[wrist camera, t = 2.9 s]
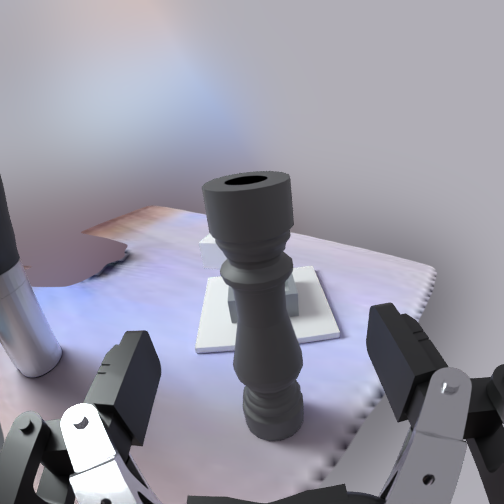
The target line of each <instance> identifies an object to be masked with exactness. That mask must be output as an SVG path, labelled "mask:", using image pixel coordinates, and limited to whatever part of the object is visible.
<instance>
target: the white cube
mask: <svg viewBox="0 0 504 504" xmlns="http://www.w3.org/2000/svg"><path fill="white" fill-rule="evenodd" d="M199 247H200V252H201V257H202V262H203V267H204V268H205V269H218V270H220V269H221V266H222V264H223V263H224V262H225V261H226V260H227V258H226V256H225V255H224V254H223V251H222V250H220V248H219V247H218V246H217V244H216V243H215V238H213V237H212V235H211V234H208V235H207V236H206V237H205V238H204V239H203V240H202V241H200V242H199Z"/></svg>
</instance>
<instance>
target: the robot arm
mask: <svg viewBox="0 0 504 504" xmlns="http://www.w3.org/2000/svg"><path fill="white" fill-rule="evenodd" d="M0 343H1V344H2V346H3V348H4V349H5V351H6V353H7V354H8V356H9V357H10V359H11V361H12V362H13V364H14V365H15V367H16V368H17V369H19V370H20V371H21V373H22V374H23V375H24V376H26V377H38V376H41V375H43V374H45V373H47V372H49V371H50V370H51V369H52V368H54V367H55V365H56V364H57V363H58V362H59V360H60V358H61V355H62V349H61V347H60V345H59V343H58V341H57V339H56V338H55V336H54V334H53V332H52V330H51V328H50V326H49V324H48V322H47V320H46V318H45V316H44V314H43V311H42V309H41V307H40V305H39V303H38V301H37V298H36V296H35V294H34V292H33V289H32V287H31V285H30V282H29V280H28V277H27V275H26V273H25V270H24V267H23V265H22V262H21V260H20V257H19V254H18V251H17V247H16V242H15V235H14V231H13V227H12V224H11V220H10V216H9V212H8V207H7V202H6V197H5V192H4V187H3V183H2V179H1V176H0ZM366 346H367V351H368V355H369V357H370V359H371V361H372V364H373V366H374V368H375V370H376V373H377V375H378V377H379V379H380V382H381V384H382V386H383V389H384V391H385V393H386V395H387V398H388V400H389V403H390V405H391V408H392V410H393V412H394V415H395V417H396V419H397V422H401V421H405V420H409V422H410V424H411V427H410V429H409V431H408V434H407V436H406V439H405V441H404V444H403V446H402V449H401V451H400V453H399V456H398V458H397V461H396V463H395V465H394V467H393V470H392V472H391V474H390V476H389V478H388V479H387V481H386V483H385V485H384V487H383V489H382V491H381V492H380V494H379V496H378V497H377V496H374V495H371V494H366V493H360V492H347V491H346V486H345V484H342V485H336V486H331V487H326V488H320V489H314V490H307V491H304V492H301V493H298V494H296V495H293V496H290V497H287V498H284V499H280V500H277V501H274V502H271V503H257V502H251V501H245V500H239V499H234V498H229V497H210V496H188V498H187V504H450V503H451V500H452V497H453V494H454V491H455V488H456V485H457V482H458V478H459V475H460V472H461V468H462V464H463V460H464V456H465V452H466V447H467V444H468V446H469V448H470V451H471V453H472V456H473V458H474V461H475V463H476V466H477V468H478V471H479V474H480V477H481V479H482V482H483V485H484V488H485V491H486V494H487V497H488V500H489V503H490V504H504V427H503V425H502V424H504V364H503V365H500V366H498V367H497V368H496V369H495V370H494V372H493V374H492V376H491V377H487V378H474V379H473V378H469V377H468V375H467V374H466V373H464V372H463V371H461V370H459V369H457V368H451V367H448V365H447V364H446V362H445V361H444V359H443V358H442V356H441V355H440V353H439V352H438V350H437V349H436V348H435V346H434V345H433V343H432V342H431V340H429V337H428V336H427V335H426V333H425V332H423V329H422V327H421V326H420V325H419V323H418V322H417V321H416V320H415V319H413V318H412V317H410V316H409V315H407V314H401V315H400V313H399V312H398V310H397V309H396V308H395V306H394V305H393V304H392V303H385V304H380V305H374V306H371V308H370V312H369V321H368V330H367V338H366ZM160 377H161V365H160V361H159V358H158V356H157V353H156V351H155V348H154V346H153V343H152V341H151V338H150V336H149V334H148V332H147V331H145V330H144V331H127V332H125V334H124V336H123V338H122V340H121V342H120V344H119V345H115V346H114V347H113V348H112V349H111V350H110V351H109V352H108V353H107V354H106V355H105V357H104V360H103V362H102V366H100V368H99V370H98V374H96V376H95V378H94V380H93V382H92V385H91V387H90V389H89V391H88V393H87V396H86V398H85V400H84V402H83V404H78V405H75V406H73V407H71V408H70V409H68V410H67V411H66V412H65V413H64V415H63V417H62V419H56V420H49V421H44V420H43V419H42V418H41V416H40V415H39V414H38V413H37V412H34V411H27V412H24V413H22V414H20V415H19V416H18V417H17V418H16V419H15V421H14V422H13V424H12V426H11V429H10V431H9V433H8V435H7V437H6V440H5V442H4V445H3V447H2V449H1V451H0V504H74V501H75V496H76V498H77V501H78V503H79V504H162V502H161V501H160V500H159V499H158V498H157V497H156V495H155V494H154V493H153V491H152V490H151V488H150V486H149V485H148V483H147V481H146V480H145V478H144V477H143V475H142V473H141V471H140V470H139V468H138V466H137V464H136V463H135V461H134V459H133V457H132V456H131V454H130V453H129V451H130V447H131V445H135V446H143V442H144V438H145V434H146V430H147V426H148V422H149V418H150V414H151V410H152V407H153V403H154V399H155V395H156V392H157V388H158V384H159V381H160ZM463 439H466V441H467V443H466V441H463ZM40 463H41V464H42V465H43V466H44V470H43V473H42V476H41V479H40V483H39V486H38V489H37V493H35V491H34V488H33V483H34V479H35V476H36V473H37V470H38V467H39V464H40Z"/></svg>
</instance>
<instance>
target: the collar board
mask: <svg viewBox="0 0 504 504" xmlns="http://www.w3.org/2000/svg"><path fill="white" fill-rule="evenodd" d="M285 295H286V309H287V312H288V315H289V317H290V320H291V323H292V326H293V329H294V331H295V334H296V337H297V340H298V342H299V343H306V342H313V341H320V340H327V339H333V338H339V337H340V331H339V329H338V326H337V324H336V321H335V319H334V316H333V314H332V311H331V309H330V306H329V304H328V301H327V299H326V297H325V294H324V292H323V289H322V287H321V285H320V282H319V280H318V278H317V275H316V273H315V271H314V268H313V266H307V267H299V268H293V272H292V274H291V275H290V277H289V278H288V279H287V280H286V282H285ZM237 321H238V316H237V310H236V305H235V299H234V293H233V289H232V287H231V286H229V285H227V284H226V283H225V282H224V280H223V278H222V277H221V276H220V277H210V278H208V283H207V288H206V293H205V298H204V303H203V308H202V313H201V318H200V323H199V329H198V334H197V339H196V345H195V350H196V353H209V352H223V351H235V341H236V331H237Z"/></svg>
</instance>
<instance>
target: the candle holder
mask: <svg viewBox="0 0 504 504" xmlns="http://www.w3.org/2000/svg"><path fill="white" fill-rule="evenodd" d="M202 191H203V197H204V204H205V209H206V215H207V221H208V227H209V233H210V234H211V235H212V237H213V238H215V243H216V244H217V246H218V247H219V248H220V250H222V251H223V254H224V255H225V256H226V258H227V260H226V261H225V262H224V263H223V264H222V266H221V269H220V274H221V277H222V278H223V280H224V282H225V283H226V284H227V285H229V286H231V287H232V289H233V293H234V299H235V305H236V310H237V316H238V321H237V331H236V341H235V351H234V360H233V367H234V370H235V372H236V374H237V376H238V378H239V380H240V381H241V382H242V383H243V384H244V385H246V386H245V388H244V393H243V410H244V414H245V418H246V422H247V425H248V427H249V429H250V431H251V432H252V433H253V434H254V435H256V436H257V437H258V438H261V439H264V440H268V441H276V440H283V439H285V438H288V437H290V436H292V435H293V434H294V433H296V432H297V431H298V430H299V429H300V427H301V424H302V422H303V395H302V393H301V391H300V385H299V384H298V382H297V381H296V379H297V377H298V375H299V373H300V371H301V368H302V366H303V359H302V351H301V348H300V345H299V342H298V340H297V337H296V334H295V331H294V329H293V326H292V323H291V320H290V317H289V315H288V312H287V309H286V295H285V282H286V280H287V279H288V278H289V277H290V275H291V274H292V272H293V262H292V258H291V257H289V256H288V255H287V254H286V253H284V252H283V251H284V250H285V245H286V242H287V241H288V239H289V238H290V228H291V227H292V226H293V225H294V221H293V207H292V195H291V183H290V176H289V174H286V173H283V172H273V171H260V172H247V173H239V174H234V175H229V176H224V177H220V178H217V179H213V180H211V181H209V182H207V183H205V184H204V185H203V186H202Z"/></svg>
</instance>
